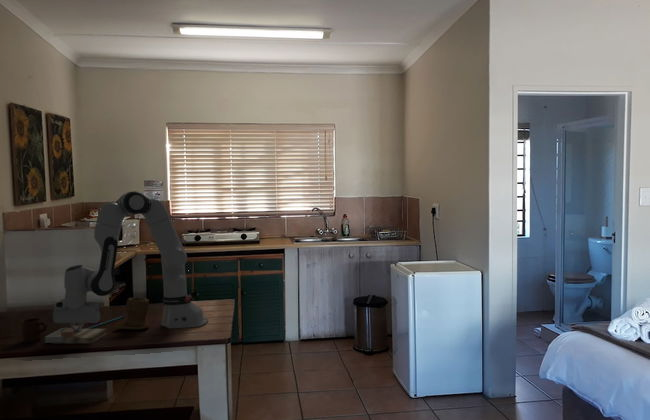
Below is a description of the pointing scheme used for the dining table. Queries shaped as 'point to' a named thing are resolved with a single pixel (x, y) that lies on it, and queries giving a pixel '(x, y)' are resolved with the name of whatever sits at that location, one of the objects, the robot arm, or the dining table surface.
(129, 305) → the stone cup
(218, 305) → the dining table surface
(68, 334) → the tile
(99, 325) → the squeegee
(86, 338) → the board
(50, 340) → the tray
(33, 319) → the mug
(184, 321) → the robot arm
